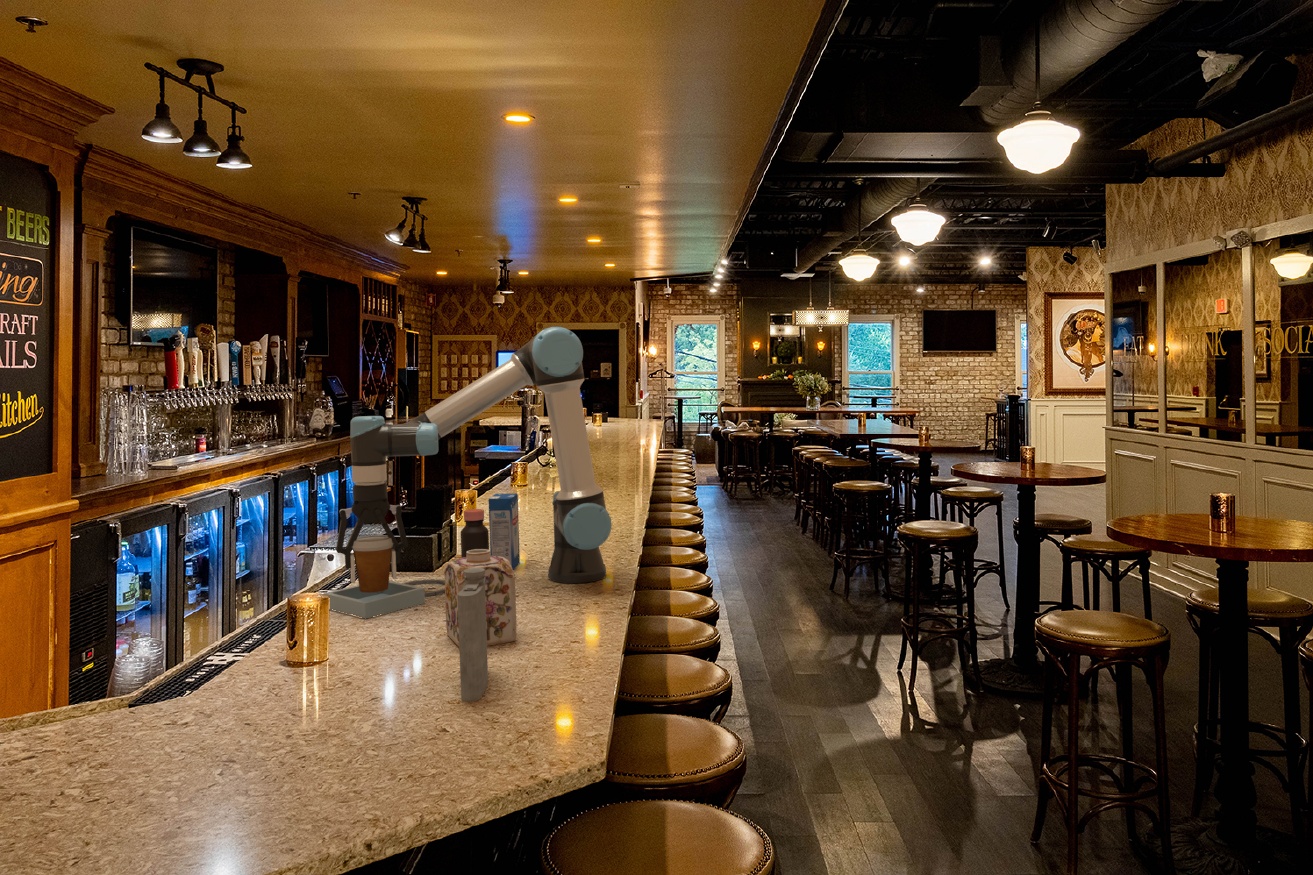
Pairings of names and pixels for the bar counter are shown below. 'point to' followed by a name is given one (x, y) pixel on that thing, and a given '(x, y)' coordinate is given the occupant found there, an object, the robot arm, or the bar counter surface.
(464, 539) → the bottle
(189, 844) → the bar counter surface
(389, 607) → the bin
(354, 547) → the disposable coffee cup
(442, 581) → the collar
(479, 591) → the hip flask
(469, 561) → the decorative jar
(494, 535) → the milk carton
